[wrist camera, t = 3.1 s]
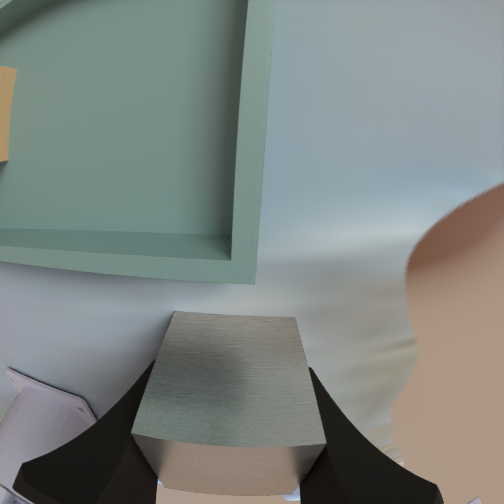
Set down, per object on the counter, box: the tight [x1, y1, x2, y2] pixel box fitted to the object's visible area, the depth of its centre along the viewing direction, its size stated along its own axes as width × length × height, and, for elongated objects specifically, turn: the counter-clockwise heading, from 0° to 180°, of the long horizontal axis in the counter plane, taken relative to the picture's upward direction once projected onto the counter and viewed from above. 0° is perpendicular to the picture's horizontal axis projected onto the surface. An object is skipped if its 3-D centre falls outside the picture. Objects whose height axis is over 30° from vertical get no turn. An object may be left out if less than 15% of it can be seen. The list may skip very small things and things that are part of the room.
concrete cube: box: [131, 311, 326, 496], centre depth 8 cm, size 5×5×6 cm
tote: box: [0, 0, 274, 285], centre depth 6 cm, size 11×15×2 cm
